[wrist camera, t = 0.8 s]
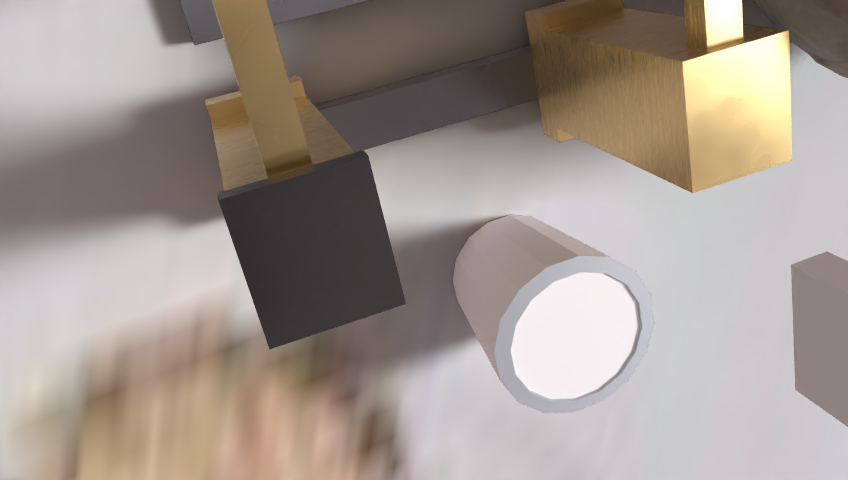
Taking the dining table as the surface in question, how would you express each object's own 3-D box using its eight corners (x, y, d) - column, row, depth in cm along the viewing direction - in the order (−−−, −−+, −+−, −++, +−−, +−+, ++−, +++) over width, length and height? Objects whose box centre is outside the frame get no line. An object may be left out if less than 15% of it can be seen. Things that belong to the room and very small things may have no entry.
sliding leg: (243, 228, 31) (274, 363, 21) (133, -100, 26) (105, -131, 16) (335, 200, 31) (409, 317, 21) (245, -125, 27) (285, -169, 17)
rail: (262, 170, 32) (265, 178, 31) (247, 123, 31) (250, 130, 30) (594, 74, 34) (607, 78, 33) (588, 28, 34) (602, 31, 32)
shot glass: (437, 211, 34) (494, 270, 28) (578, 192, 36) (662, 244, 30) (441, 348, 37) (495, 430, 31) (573, 324, 39) (650, 398, 32)
